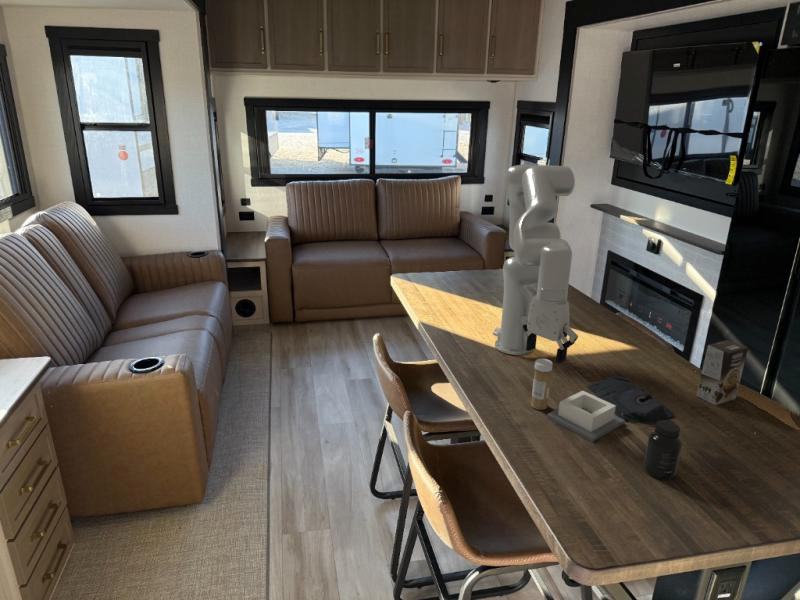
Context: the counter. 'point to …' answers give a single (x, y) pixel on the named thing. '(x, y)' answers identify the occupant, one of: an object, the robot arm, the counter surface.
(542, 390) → the sprinkles bottle
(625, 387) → the dark slate chunk
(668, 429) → the supplement bottle
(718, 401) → the coffee box
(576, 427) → the bottle holder
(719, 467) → the counter surface
